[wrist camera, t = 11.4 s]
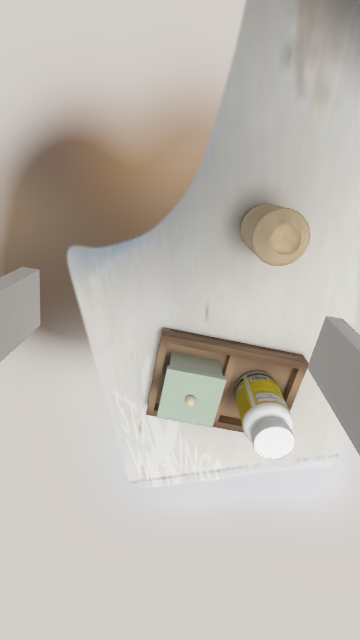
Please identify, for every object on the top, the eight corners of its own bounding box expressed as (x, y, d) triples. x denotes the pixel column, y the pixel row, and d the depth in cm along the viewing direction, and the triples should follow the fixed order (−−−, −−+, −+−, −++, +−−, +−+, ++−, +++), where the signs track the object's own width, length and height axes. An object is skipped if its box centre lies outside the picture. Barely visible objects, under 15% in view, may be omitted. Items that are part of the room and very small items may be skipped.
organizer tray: (163, 327, 45) (161, 335, 42) (302, 355, 46) (308, 363, 43) (147, 403, 50) (146, 414, 47) (274, 427, 51) (278, 438, 48)
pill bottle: (248, 412, 49) (264, 472, 38) (225, 383, 47) (235, 438, 37) (284, 392, 47) (311, 449, 37) (262, 361, 45) (284, 412, 35)
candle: (236, 248, 40) (250, 266, 31) (244, 201, 38) (261, 206, 29) (280, 252, 40) (307, 272, 31) (290, 206, 38) (322, 212, 29)
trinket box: (169, 349, 45) (166, 373, 39) (222, 359, 45) (227, 385, 40) (159, 394, 48) (155, 422, 42) (210, 403, 48) (212, 433, 42)
